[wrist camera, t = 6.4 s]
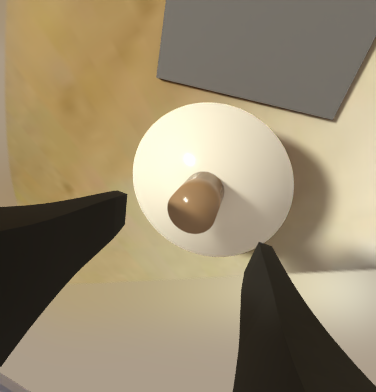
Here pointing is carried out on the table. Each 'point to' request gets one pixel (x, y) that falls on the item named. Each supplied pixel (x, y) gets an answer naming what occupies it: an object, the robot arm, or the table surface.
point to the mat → (269, 49)
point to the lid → (213, 179)
